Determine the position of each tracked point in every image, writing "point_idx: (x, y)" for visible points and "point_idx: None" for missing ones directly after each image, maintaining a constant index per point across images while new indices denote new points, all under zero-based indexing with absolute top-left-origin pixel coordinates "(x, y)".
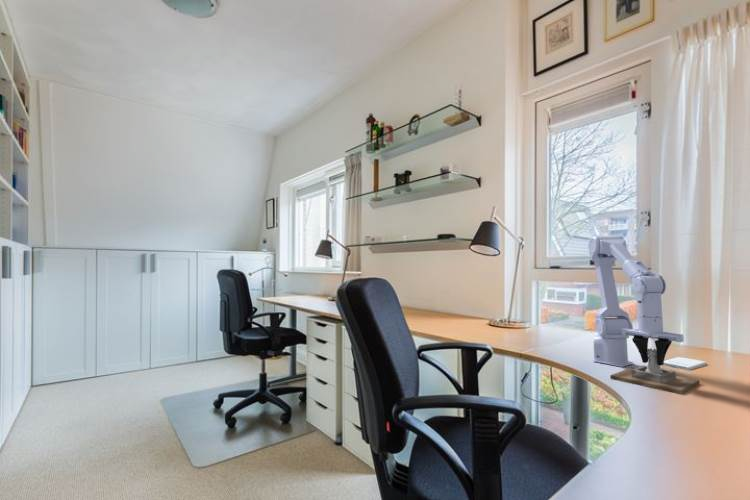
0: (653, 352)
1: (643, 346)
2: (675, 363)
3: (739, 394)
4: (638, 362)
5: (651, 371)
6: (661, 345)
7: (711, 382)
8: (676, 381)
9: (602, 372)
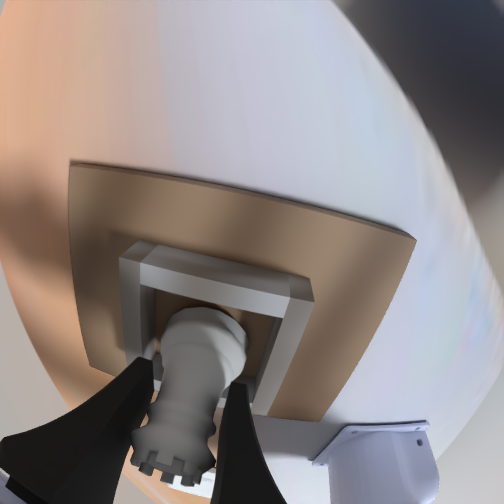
0: (151, 443)
1: (217, 495)
2: (208, 477)
3: (14, 294)
4: (298, 471)
5: (204, 334)
6: (24, 446)
7: (89, 382)
8: (120, 313)
9: (431, 324)
